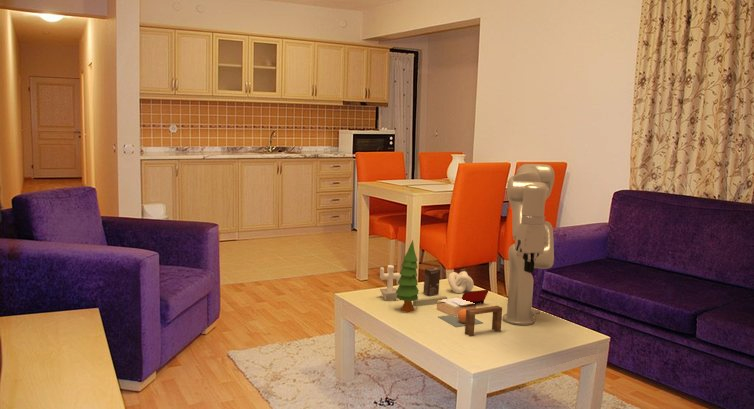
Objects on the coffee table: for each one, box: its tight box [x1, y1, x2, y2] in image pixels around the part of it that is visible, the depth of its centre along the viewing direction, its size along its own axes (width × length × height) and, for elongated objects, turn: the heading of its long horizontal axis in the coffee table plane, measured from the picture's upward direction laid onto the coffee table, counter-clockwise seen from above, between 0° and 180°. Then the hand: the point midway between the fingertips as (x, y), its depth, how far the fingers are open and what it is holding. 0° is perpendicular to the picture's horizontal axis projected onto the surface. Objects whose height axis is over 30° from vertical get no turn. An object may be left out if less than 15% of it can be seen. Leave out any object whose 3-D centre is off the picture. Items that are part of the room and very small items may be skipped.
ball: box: [457, 308, 468, 323], centre depth 238 cm, size 6×6×6 cm
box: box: [422, 267, 441, 297], centre depth 275 cm, size 6×4×12 cm
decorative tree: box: [396, 239, 419, 313], centre depth 250 cm, size 10×9×30 cm
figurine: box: [379, 264, 401, 301], centre depth 267 cm, size 7×9×15 cm
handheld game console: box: [461, 289, 489, 305], centre depth 264 cm, size 12×11×7 cm
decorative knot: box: [447, 270, 475, 294], centre depth 282 cm, size 11×12×9 cm
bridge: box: [464, 305, 503, 337], centre depth 228 cm, size 3×14×9 cm, turn 117°
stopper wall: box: [412, 295, 448, 308], centre depth 262 cm, size 16×2×2 cm, turn 117°
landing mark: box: [437, 314, 484, 328], centre depth 242 cm, size 13×13×1 cm
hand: (528, 271), depth 212 cm, fingers closed
